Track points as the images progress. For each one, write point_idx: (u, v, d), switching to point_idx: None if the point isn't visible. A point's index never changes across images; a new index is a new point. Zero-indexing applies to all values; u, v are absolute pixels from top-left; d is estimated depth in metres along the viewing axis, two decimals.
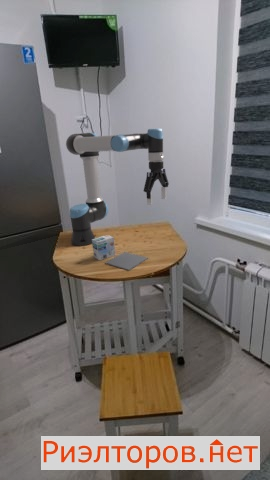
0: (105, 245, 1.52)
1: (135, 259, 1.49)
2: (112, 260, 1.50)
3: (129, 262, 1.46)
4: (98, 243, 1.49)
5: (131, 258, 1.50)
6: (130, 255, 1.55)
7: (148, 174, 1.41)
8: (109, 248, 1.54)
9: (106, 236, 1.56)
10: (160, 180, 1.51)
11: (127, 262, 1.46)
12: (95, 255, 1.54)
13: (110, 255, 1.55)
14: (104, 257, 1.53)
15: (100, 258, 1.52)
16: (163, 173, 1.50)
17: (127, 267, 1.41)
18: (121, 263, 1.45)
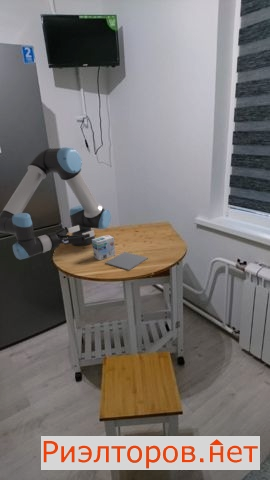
0: (105, 245, 1.52)
1: (135, 259, 1.49)
2: (112, 260, 1.50)
3: (129, 262, 1.46)
4: (98, 243, 1.49)
5: (131, 258, 1.50)
6: (130, 255, 1.55)
7: None
8: (109, 248, 1.54)
9: (106, 236, 1.56)
10: None
11: (127, 262, 1.46)
12: (95, 255, 1.54)
13: (110, 255, 1.55)
14: (104, 257, 1.53)
15: (100, 258, 1.52)
16: None
17: (127, 267, 1.41)
18: (121, 263, 1.45)
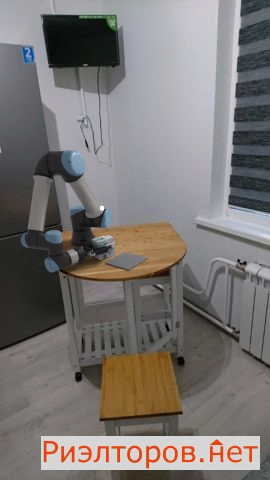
0: None
1: (135, 259, 1.49)
2: (112, 260, 1.50)
3: (129, 262, 1.46)
4: (98, 243, 1.49)
5: (131, 258, 1.50)
6: (130, 255, 1.55)
7: None
8: None
9: (106, 236, 1.56)
10: None
11: (127, 262, 1.46)
12: None
13: (110, 255, 1.55)
14: (104, 257, 1.53)
15: (100, 258, 1.52)
16: None
17: (127, 267, 1.41)
18: (121, 263, 1.45)
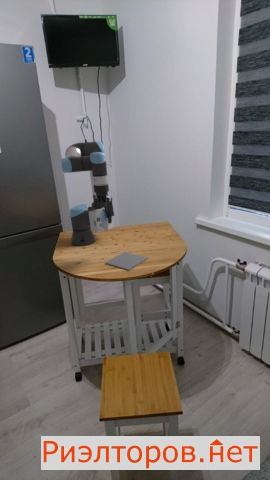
0: None
1: (135, 259, 1.49)
2: (112, 260, 1.50)
3: (129, 262, 1.46)
4: None
5: (131, 258, 1.50)
6: (130, 255, 1.55)
7: None
8: (105, 223, 1.46)
9: None
10: None
11: (127, 262, 1.46)
12: (93, 211, 1.44)
13: (98, 226, 1.43)
14: (97, 219, 1.42)
15: (97, 214, 1.41)
16: None
17: (127, 267, 1.41)
18: (121, 263, 1.45)
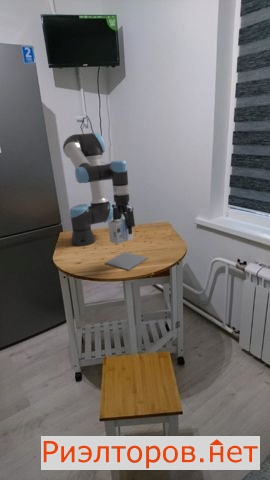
0: None
1: (135, 259, 1.49)
2: (112, 260, 1.50)
3: (129, 262, 1.46)
4: None
5: (131, 258, 1.50)
6: (130, 255, 1.55)
7: None
8: (125, 234, 1.39)
9: None
10: None
11: (127, 262, 1.46)
12: (113, 221, 1.38)
13: (118, 237, 1.37)
14: (117, 230, 1.36)
15: (117, 225, 1.35)
16: (128, 211, 1.35)
17: (127, 267, 1.41)
18: (121, 263, 1.45)
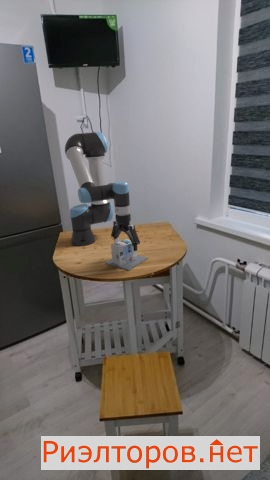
0: (130, 251, 1.44)
1: (135, 259, 1.49)
2: None
3: (129, 262, 1.46)
4: None
5: None
6: None
7: None
8: (127, 257, 1.44)
9: None
10: None
11: None
12: (116, 244, 1.42)
13: (121, 260, 1.41)
14: (120, 253, 1.40)
15: (120, 248, 1.39)
16: None
17: (127, 267, 1.41)
18: None
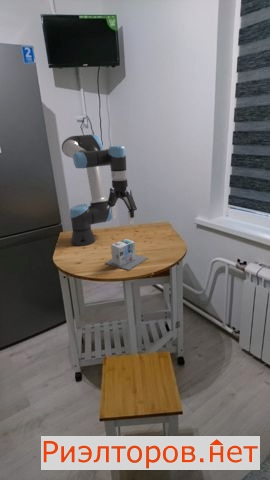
0: (130, 251, 1.44)
1: (135, 259, 1.49)
2: None
3: (129, 262, 1.46)
4: (133, 243, 1.44)
5: None
6: None
7: None
8: (127, 257, 1.44)
9: None
10: None
11: None
12: (116, 244, 1.42)
13: (121, 260, 1.41)
14: (120, 253, 1.40)
15: (120, 248, 1.39)
16: (127, 195, 1.35)
17: (127, 267, 1.41)
18: None
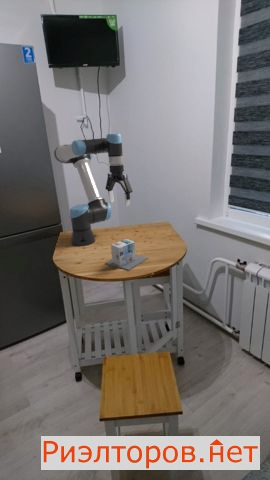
0: (130, 251, 1.44)
1: (135, 259, 1.49)
2: None
3: (129, 262, 1.46)
4: (133, 243, 1.44)
5: None
6: None
7: None
8: (127, 257, 1.44)
9: None
10: None
11: None
12: (116, 244, 1.42)
13: (121, 260, 1.41)
14: (120, 253, 1.40)
15: (120, 248, 1.39)
16: (123, 179, 1.47)
17: (127, 267, 1.41)
18: None
